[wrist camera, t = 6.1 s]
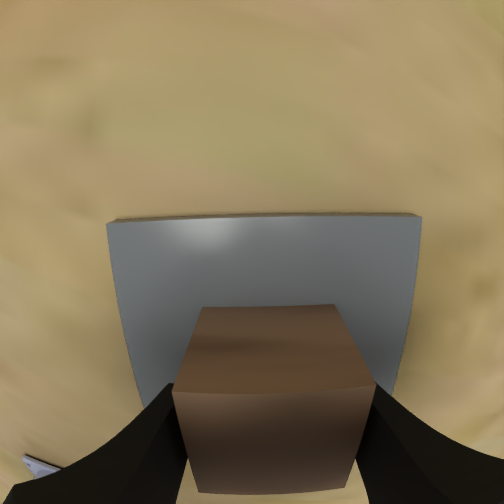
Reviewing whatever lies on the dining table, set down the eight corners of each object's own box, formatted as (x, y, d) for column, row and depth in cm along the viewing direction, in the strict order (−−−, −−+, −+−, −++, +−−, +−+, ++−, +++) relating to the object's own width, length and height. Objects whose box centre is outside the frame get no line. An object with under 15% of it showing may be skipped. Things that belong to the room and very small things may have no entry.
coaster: (373, 430, 15) (376, 439, 14) (159, 436, 15) (156, 445, 14) (412, 213, 11) (422, 217, 11) (114, 219, 12) (106, 223, 11)
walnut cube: (323, 401, 13) (344, 487, 8) (213, 404, 13) (198, 492, 8) (333, 303, 12) (376, 384, 7) (202, 307, 12) (171, 391, 7)
